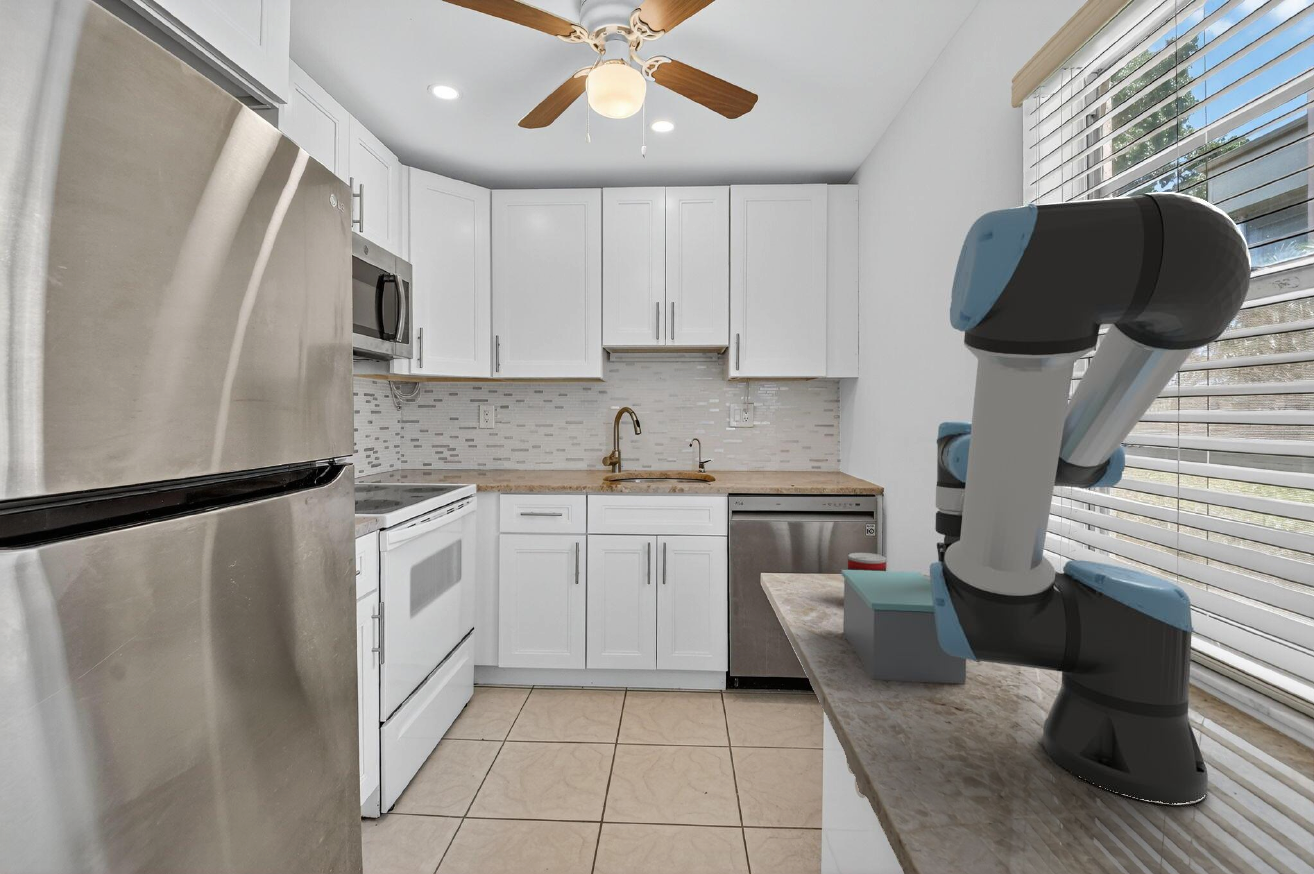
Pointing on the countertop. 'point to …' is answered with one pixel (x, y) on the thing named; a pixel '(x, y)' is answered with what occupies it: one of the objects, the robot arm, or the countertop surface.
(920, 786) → the countertop surface
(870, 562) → the canned food
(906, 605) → the lid
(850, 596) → the tub
